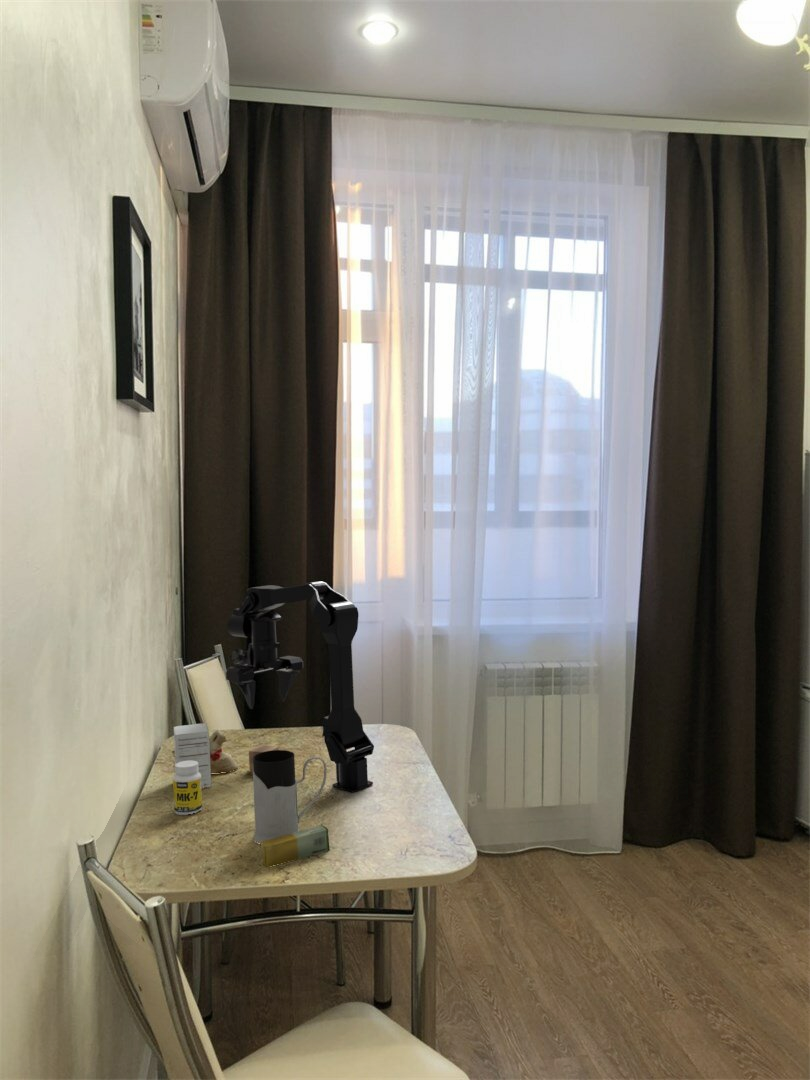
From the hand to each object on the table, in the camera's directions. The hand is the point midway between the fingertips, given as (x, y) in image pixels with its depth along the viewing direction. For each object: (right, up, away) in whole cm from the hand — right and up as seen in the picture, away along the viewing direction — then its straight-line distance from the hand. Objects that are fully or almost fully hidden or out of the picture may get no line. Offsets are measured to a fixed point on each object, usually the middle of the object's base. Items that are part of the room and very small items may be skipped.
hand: (267, 704), depth 193 cm
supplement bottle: (-11, -16, -28) cm, 34 cm away
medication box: (+14, -16, -51) cm, 56 cm away
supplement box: (-14, -16, -12) cm, 24 cm away
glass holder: (+12, -16, -41) cm, 46 cm away
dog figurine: (-11, -15, -3) cm, 19 cm away
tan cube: (0, -15, -3) cm, 15 cm away
